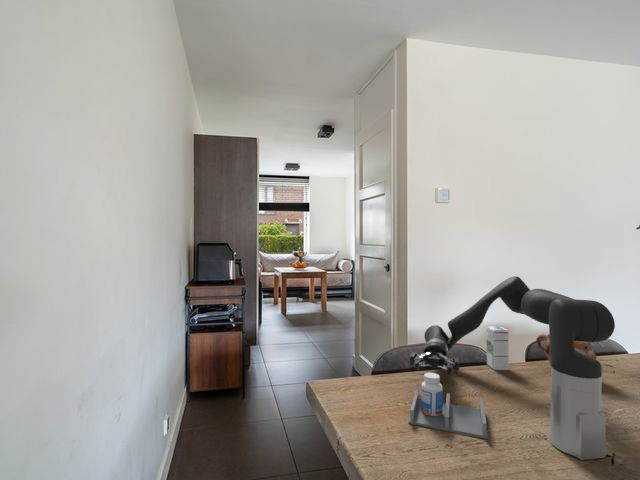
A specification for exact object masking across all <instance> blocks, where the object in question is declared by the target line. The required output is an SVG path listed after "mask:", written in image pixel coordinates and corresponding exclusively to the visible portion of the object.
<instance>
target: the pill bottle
mask: <svg viewBox="0 0 640 480" xmlns="http://www.w3.org/2000/svg"><path fill="white" fill-rule="evenodd" d="M423 380H424V381H422V383H421V389H420V391H421V394H420V395H421V398H420V399H421V409H422V412H423V413H424V414H426V415H429V416H440V415H441V414H442V412H443V403H444V402H443V397H444V395H443V392H444V391H443V390H444V389H443V385H442V384H441V383H440V382H441V376H440V374H438V373H435V372H425V373H424V375H423Z"/></svg>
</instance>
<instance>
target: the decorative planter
mask: <svg viewBox="0 0 640 480" xmlns="http://www.w3.org/2000/svg"><path fill="white" fill-rule="evenodd" d="M543 340H544V341H545V343H544V345H543V347H542V345H541V342H542V341H543ZM535 341H536V344H537V347H538V349H540V350H541V351H542V352H543V353H544V354H545V356H546V357H547V360H548V362H549V365H550V366H551V355H550V334H539V335H538V336H537V337H536V339H535ZM574 349H575V350H576V351H577V352H579V353H582V354H584V355H587V356H590V357H592V358H594V359H596V360H597V355H596V354H595V352H594V350H593V348H592V344H591V342H582V341H574Z"/></svg>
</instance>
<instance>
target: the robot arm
mask: <svg viewBox="0 0 640 480" xmlns="http://www.w3.org/2000/svg"><path fill="white" fill-rule="evenodd" d="M497 299H501V301H502V302H503V303H504V304H505V306H506V307H507V308H508V309H509V310H511V312H513V313H515V314H520V315H525V316H526V317H529V318H530V319H531V320H534V321H536V322H537V323H541V324H545V325H548V330H549V332H548V333H549V334H550V355H551V365H550V367H551V368H550V413H549V414H550V417H549V418H550V421H549V422H550V429H549V430H550V431H549V439H550V443H551V444H552V446H554V447H555V448H556V449H558V450H559V451H561V452H563V453H566V454H568V455H570V456H572V457H575V458H577V459H578V460H580V461H582V460H583V461H585V460H595V459H604V458H606V419H607V416H606V413H605V412H602V383H603V382H602V381H603V380H602V375H603V374H602V373H603V368H602V367H603V366H602V363H601V362H600V361H599V360H597V358H596V359H594V358H592V357H590V356H587V355H584V354H582V353H579V352H577V351H576V350H575V349H574V341H582V342H590V343H600V342H603V341H606V340H608V339H609V338H610V337H612V335H613V333H614V332H615V328H616V327H615V326H616V325H615V318H614V316H613V314H612V312H611V310H610V309H608V307H607V306H605V305H604V304H603V303H601V302H599V301H596V300H593V299H592V300H590V299H575V298H573V297H569V296H567V295H564V294H562V293H561V294H560V293H556V292H554V291H551V290H547V289H543V288H533V289H530V288H529V286H527V284H526V283H525V282H524V281H523V280H522V278H521V277H519V276H518V275H517V276H511V277H507V279H505V280H504V281H501V282H500V283H499V284H497V285H496V286H494V288H492V289H491V290H489V292H488V293H486V294H485V295H483V296H482V297H481V298H480V299H478V300H477V301H476V302H475V303H474V304H473V305H472V306H470V307H469V308H468V309H465V310H464V311H463V312H461V314H458V315H457V316H455V317H454V318H452V319H450V320H449V321H448V322H447V327H448V330H449V331H450V334H451V336H450V337H449V336H448V334H447V333H446V331H444V329H443V327H441V326H439V325H437V324H435V325H434V324H433V325H431V326H428V328H427V329H426V330H425V332H424V334H423V335H424V340H425V346H424V348H423V352H422V353H421V354H418V353H417V351H412V352H411V353H410V355H409V365H411V366H414V369H415V370H416V371H419V370H420V367H428V366H429V367H431V368H434V369H440V368H441V369H443V370H446V372H447V373H446V375H451V374H453V371H455V372H460V359H459V357H458V356H456V355H455V356H453V357H452V358H450V357H449V352H450V351H451V349H452V348H454V346H455V345H456V344H457V342H459V341H460V340H461V339H463V338H464V337H465V336H467V335H469V334H471V333H472V332H474V331H475V330H477V329H478V328H479V327H480V326H481V324H482V323H483V321H484V319H485V317H486V315H487V312H488V311H489V309H490V307H491V305H492V304H493V303H494V302H495V301H496V300H497Z"/></svg>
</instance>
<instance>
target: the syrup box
mask: <svg viewBox="0 0 640 480" xmlns="http://www.w3.org/2000/svg"><path fill="white" fill-rule="evenodd" d="M509 333H510V331H509V330H508V329H506V328H505V327H502V326H500V325H499V326H498V325H491V326H486V365H487V366H488V367H489V368H490V369H492V370H494V371H509V370H510V368H509V365H510V364H509V361H510V359H509V357H510V355H509V351H510V349H509V348H510V345H509V339H510V337H509V335H510V334H509Z"/></svg>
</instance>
